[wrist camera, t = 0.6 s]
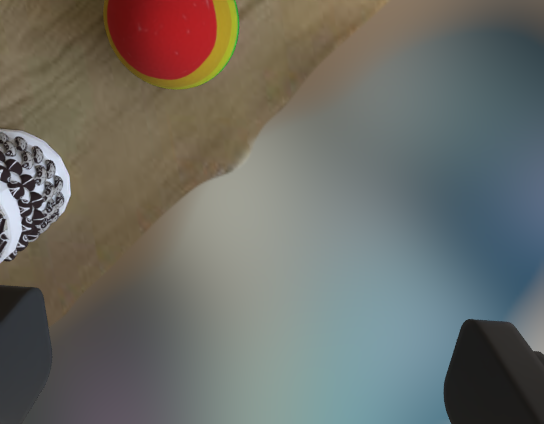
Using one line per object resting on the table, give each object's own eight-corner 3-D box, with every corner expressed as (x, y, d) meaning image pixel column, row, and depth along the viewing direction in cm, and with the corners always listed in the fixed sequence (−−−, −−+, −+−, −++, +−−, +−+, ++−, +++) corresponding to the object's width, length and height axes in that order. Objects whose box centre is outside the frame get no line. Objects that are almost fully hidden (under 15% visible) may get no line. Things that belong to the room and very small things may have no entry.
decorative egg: (106, -15, 32) (40, -34, 22) (215, -61, 31) (194, -100, 22) (156, 98, 35) (116, 123, 25) (258, 59, 34) (255, 70, 24)
